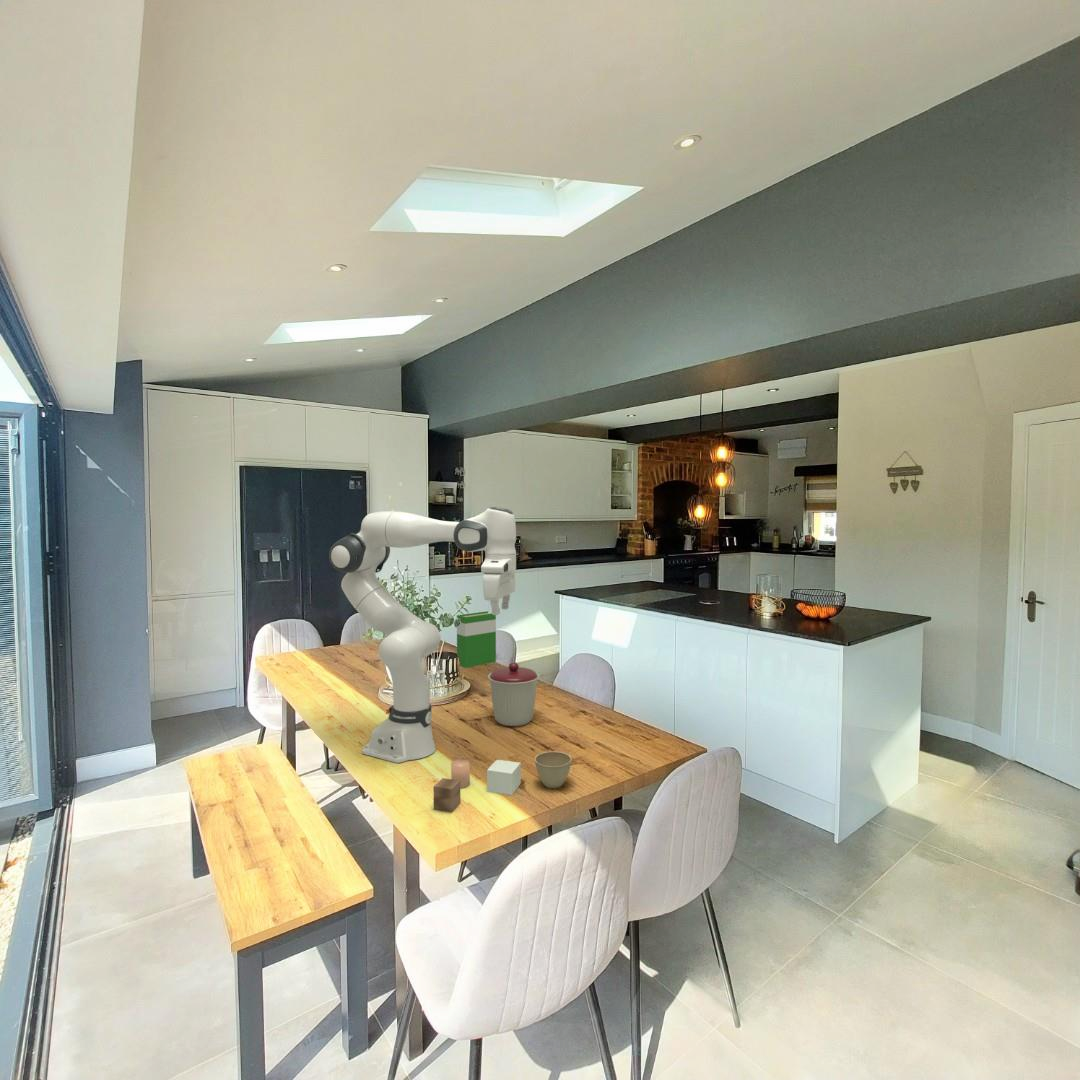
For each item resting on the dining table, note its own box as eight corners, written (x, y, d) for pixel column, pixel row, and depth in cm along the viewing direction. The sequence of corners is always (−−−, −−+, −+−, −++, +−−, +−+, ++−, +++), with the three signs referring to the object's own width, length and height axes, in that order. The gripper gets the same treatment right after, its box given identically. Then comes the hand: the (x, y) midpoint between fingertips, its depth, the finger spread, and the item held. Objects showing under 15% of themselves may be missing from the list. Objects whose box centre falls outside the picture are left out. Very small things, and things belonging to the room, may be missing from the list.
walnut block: (433, 809, 150) (433, 786, 150) (442, 800, 155) (442, 777, 154) (451, 812, 148) (451, 789, 148) (460, 803, 153) (460, 780, 153)
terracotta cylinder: (448, 787, 162) (447, 765, 162) (456, 779, 167) (456, 758, 166) (464, 790, 161) (464, 768, 160) (472, 781, 165) (472, 760, 165)
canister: (496, 711, 223) (495, 655, 222) (543, 714, 219) (543, 657, 218) (481, 728, 205) (481, 667, 204) (533, 732, 201) (533, 670, 200)
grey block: (487, 792, 160) (487, 770, 159) (496, 780, 166) (496, 759, 166) (511, 795, 158) (511, 773, 157) (520, 784, 164) (520, 762, 164)
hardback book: (487, 658, 300) (487, 611, 299) (495, 661, 295) (495, 613, 293) (457, 664, 289) (456, 615, 288) (465, 667, 283) (465, 617, 282)
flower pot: (540, 774, 170) (540, 749, 170) (575, 778, 167) (575, 753, 167) (530, 789, 161) (530, 763, 160) (566, 795, 158) (566, 768, 157)
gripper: (500, 560, 183) (500, 605, 183) (478, 567, 163) (478, 617, 163) (520, 561, 181) (520, 606, 182) (501, 567, 161) (501, 618, 162)
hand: (500, 611), depth 173 cm, fingers open, 8 cm apart
